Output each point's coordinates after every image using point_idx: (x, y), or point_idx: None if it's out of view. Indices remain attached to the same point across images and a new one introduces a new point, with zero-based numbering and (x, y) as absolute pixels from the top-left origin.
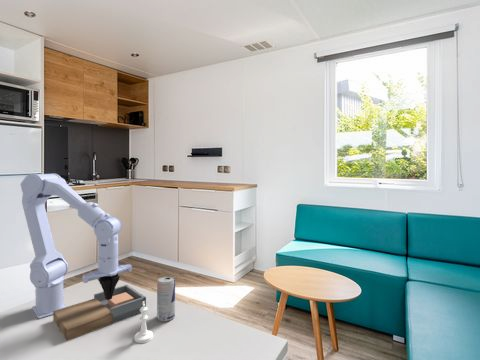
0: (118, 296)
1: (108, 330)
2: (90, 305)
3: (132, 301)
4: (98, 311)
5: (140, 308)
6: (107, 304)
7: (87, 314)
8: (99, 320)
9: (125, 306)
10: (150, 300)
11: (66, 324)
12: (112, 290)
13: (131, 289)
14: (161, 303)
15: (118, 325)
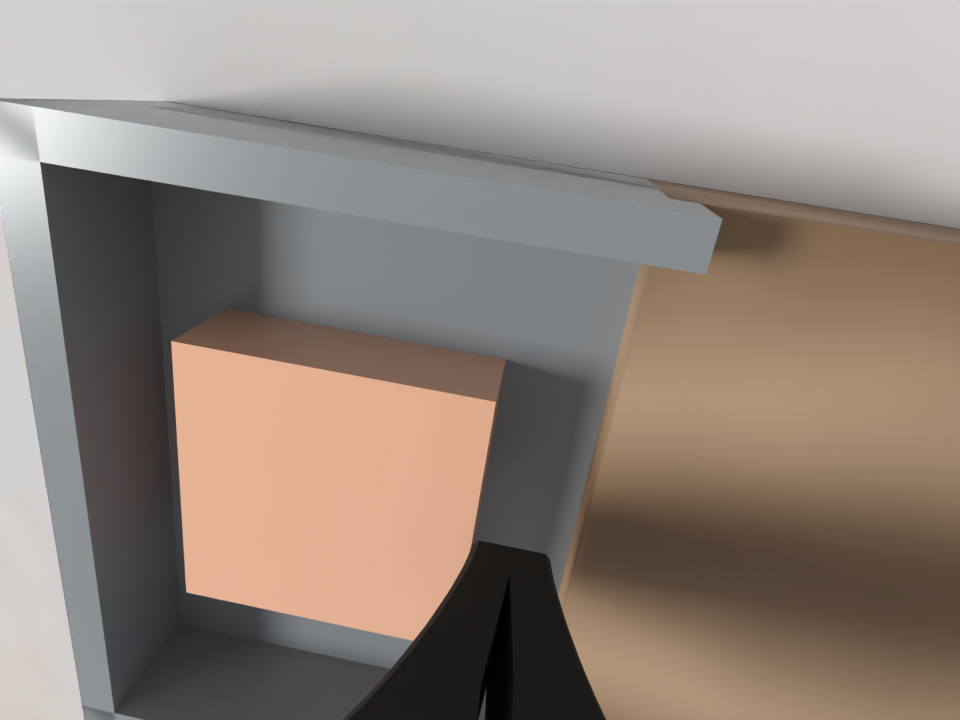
0: (325, 565)
1: (809, 49)
2: (686, 671)
3: (264, 161)
4: (747, 453)
5: None
6: None
7: (898, 502)
8: (890, 232)
9: (430, 167)
10: (5, 309)
11: None
12: (453, 647)
13: (88, 568)
14: None
15: (638, 58)
